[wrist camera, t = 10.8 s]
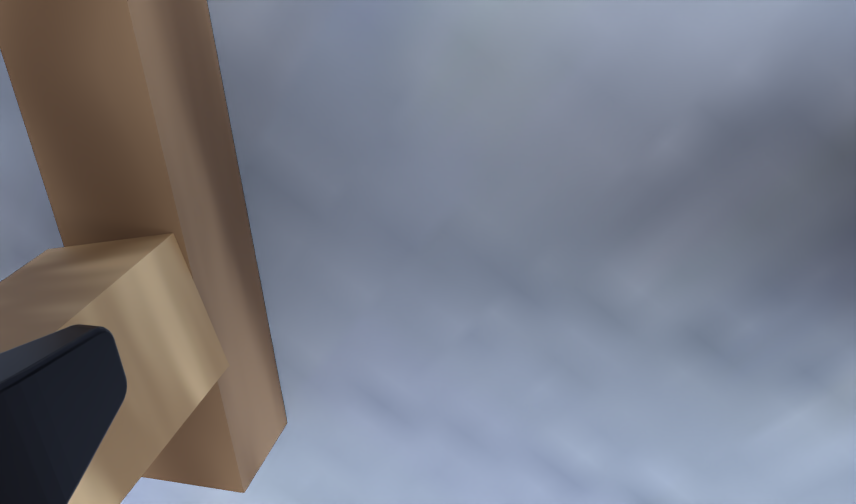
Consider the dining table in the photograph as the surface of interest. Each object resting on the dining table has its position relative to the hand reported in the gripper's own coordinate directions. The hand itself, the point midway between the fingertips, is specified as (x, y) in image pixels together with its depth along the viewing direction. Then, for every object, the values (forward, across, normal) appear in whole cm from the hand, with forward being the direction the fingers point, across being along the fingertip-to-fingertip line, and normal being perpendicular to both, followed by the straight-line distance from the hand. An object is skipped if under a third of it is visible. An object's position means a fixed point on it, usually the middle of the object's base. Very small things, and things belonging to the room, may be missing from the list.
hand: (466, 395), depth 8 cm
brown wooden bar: (+13, +12, +4) cm, 18 cm away
